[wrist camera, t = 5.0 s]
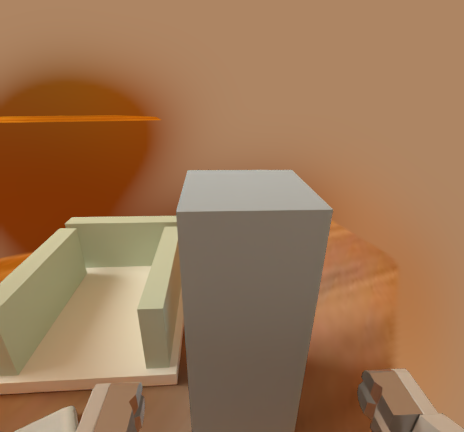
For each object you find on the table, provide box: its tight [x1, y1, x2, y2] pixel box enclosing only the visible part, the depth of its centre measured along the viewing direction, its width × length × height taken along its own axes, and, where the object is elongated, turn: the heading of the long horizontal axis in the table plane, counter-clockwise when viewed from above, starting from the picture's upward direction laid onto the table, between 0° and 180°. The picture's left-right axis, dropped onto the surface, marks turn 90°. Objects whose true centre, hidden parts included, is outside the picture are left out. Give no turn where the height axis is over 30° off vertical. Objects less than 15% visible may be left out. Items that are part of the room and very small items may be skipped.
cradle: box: [0, 216, 184, 394], centre depth 23 cm, size 12×14×6 cm
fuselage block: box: [176, 170, 333, 432], centre depth 15 cm, size 6×6×14 cm
